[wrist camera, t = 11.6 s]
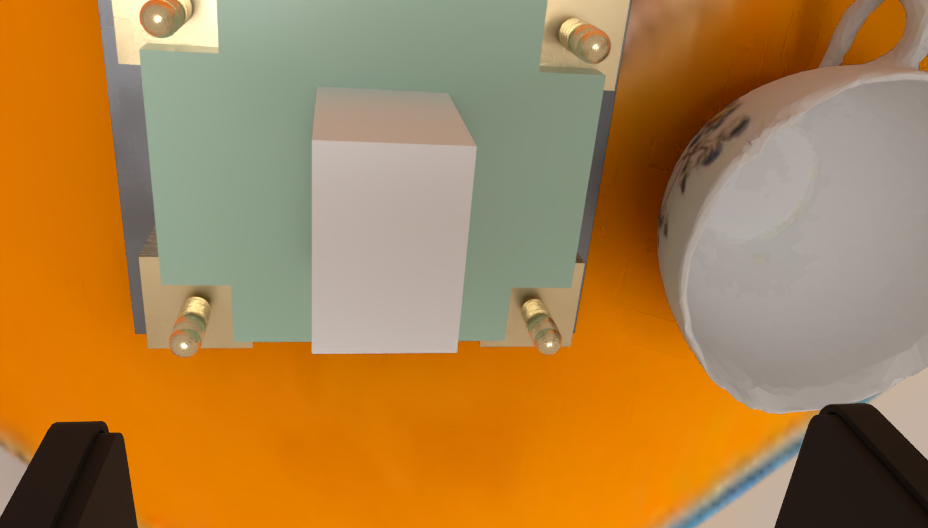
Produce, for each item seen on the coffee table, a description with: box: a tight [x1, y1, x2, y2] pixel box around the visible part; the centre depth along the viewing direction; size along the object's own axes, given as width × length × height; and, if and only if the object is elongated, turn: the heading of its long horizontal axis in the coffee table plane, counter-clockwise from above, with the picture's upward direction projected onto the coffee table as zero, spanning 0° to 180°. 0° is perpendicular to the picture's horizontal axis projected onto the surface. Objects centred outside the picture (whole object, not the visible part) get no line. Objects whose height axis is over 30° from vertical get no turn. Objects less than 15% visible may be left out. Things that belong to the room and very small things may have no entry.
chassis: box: [98, 0, 632, 358], centre depth 26 cm, size 18×16×7 cm
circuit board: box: [139, 0, 606, 354], centre depth 23 cm, size 14×12×6 cm
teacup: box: [657, 0, 928, 414], centre depth 29 cm, size 15×12×8 cm
